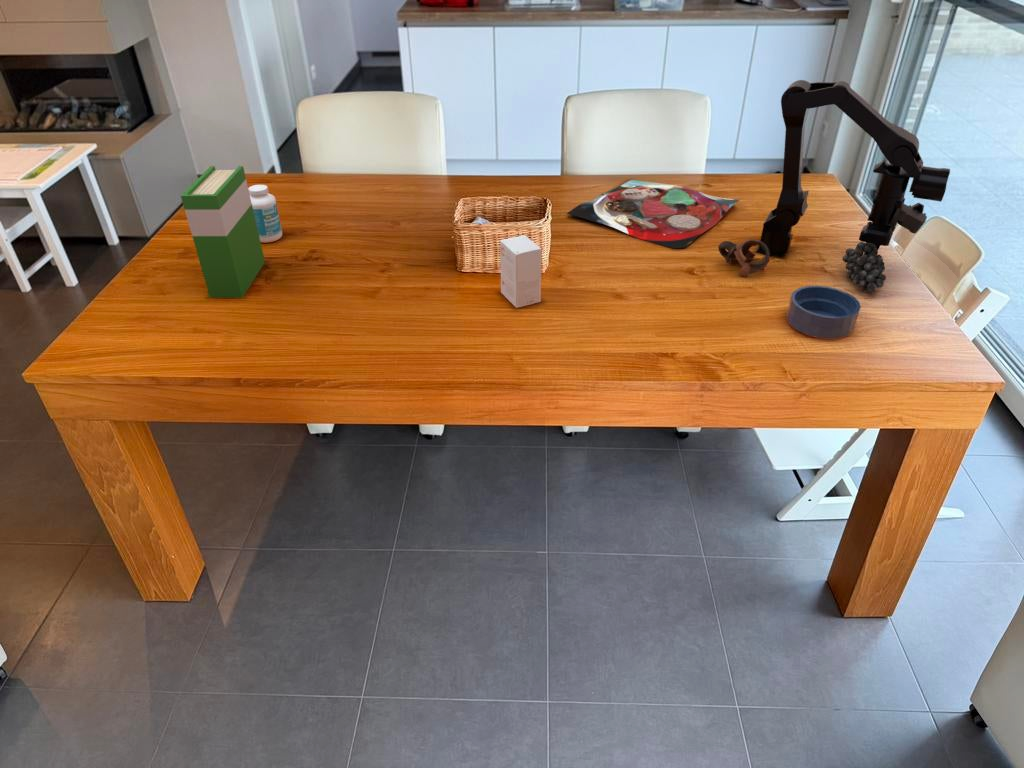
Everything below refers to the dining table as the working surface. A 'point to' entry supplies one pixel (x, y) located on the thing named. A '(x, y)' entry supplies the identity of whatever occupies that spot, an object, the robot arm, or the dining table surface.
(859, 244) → the fruit
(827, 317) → the bowl
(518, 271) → the small box
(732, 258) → the brown looped ring sculpture
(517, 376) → the dining table surface
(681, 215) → the platter
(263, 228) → the pill bottle
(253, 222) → the hardback book
